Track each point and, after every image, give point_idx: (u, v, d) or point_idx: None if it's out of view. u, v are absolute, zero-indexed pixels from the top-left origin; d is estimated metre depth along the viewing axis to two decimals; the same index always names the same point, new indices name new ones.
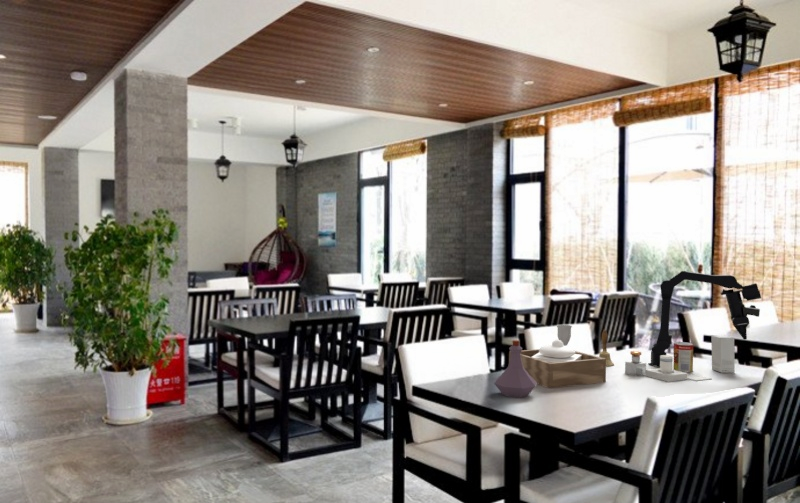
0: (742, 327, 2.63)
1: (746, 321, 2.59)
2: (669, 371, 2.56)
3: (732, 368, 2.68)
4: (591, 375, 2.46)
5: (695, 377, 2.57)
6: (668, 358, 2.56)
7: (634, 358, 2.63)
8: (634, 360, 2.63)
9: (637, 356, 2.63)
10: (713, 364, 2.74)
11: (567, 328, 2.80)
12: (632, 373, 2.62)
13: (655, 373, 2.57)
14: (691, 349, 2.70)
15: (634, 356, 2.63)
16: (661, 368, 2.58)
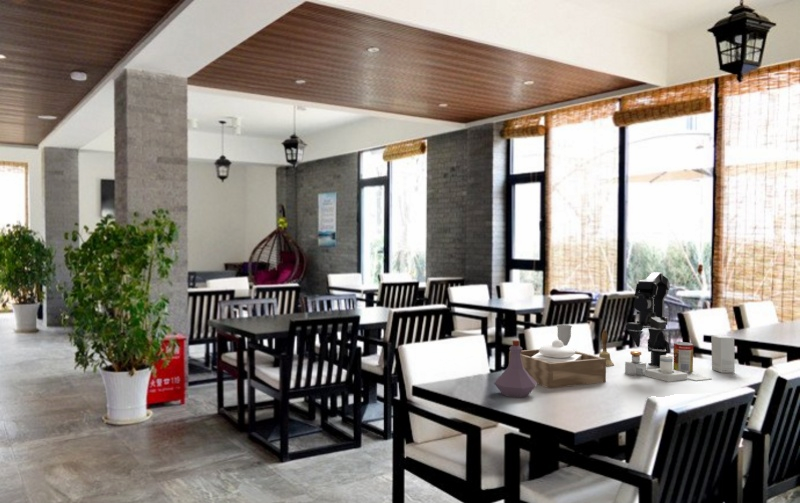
0: (636, 334, 2.58)
1: (634, 328, 2.55)
2: (669, 371, 2.56)
3: (732, 368, 2.68)
4: (591, 375, 2.46)
5: (695, 377, 2.57)
6: (668, 358, 2.56)
7: (634, 358, 2.63)
8: (634, 360, 2.63)
9: (637, 356, 2.63)
10: (713, 364, 2.74)
11: (567, 328, 2.80)
12: (632, 373, 2.62)
13: (655, 373, 2.57)
14: (691, 349, 2.70)
15: (634, 356, 2.63)
16: (661, 368, 2.58)
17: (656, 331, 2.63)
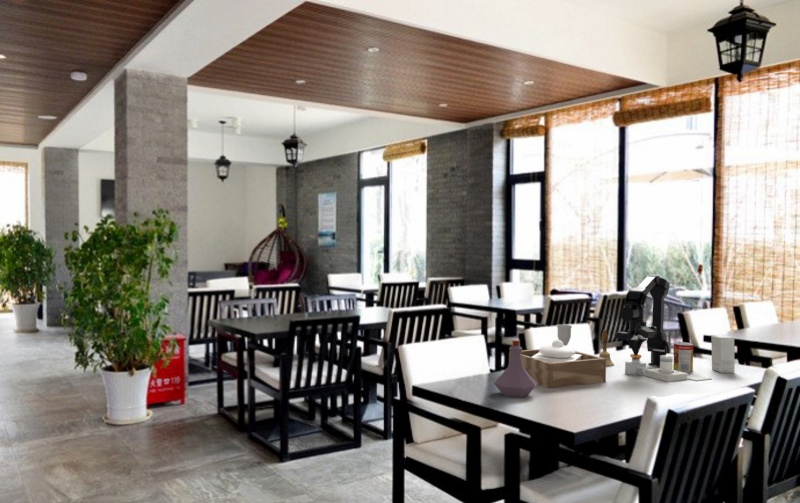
0: (633, 342, 2.64)
1: (623, 338, 2.59)
2: (669, 371, 2.56)
3: (732, 368, 2.68)
4: (591, 375, 2.46)
5: (695, 377, 2.57)
6: (668, 358, 2.56)
7: (634, 361, 2.63)
8: None
9: (637, 359, 2.63)
10: (713, 364, 2.74)
11: (567, 328, 2.80)
12: (632, 373, 2.62)
13: (655, 373, 2.57)
14: (691, 349, 2.70)
15: (634, 359, 2.63)
16: (661, 368, 2.58)
17: None
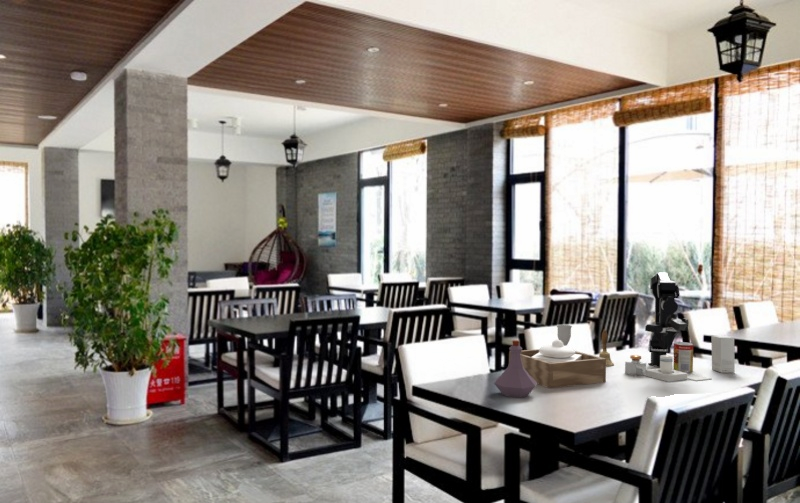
0: (661, 335, 2.57)
1: (653, 330, 2.52)
2: (669, 371, 2.56)
3: (732, 368, 2.68)
4: (591, 375, 2.46)
5: (695, 377, 2.57)
6: (668, 358, 2.56)
7: (634, 362, 2.63)
8: None
9: (637, 360, 2.63)
10: (713, 364, 2.74)
11: (567, 328, 2.80)
12: (632, 373, 2.62)
13: (655, 373, 2.57)
14: (691, 349, 2.70)
15: (634, 360, 2.63)
16: (661, 368, 2.58)
17: (673, 333, 2.58)
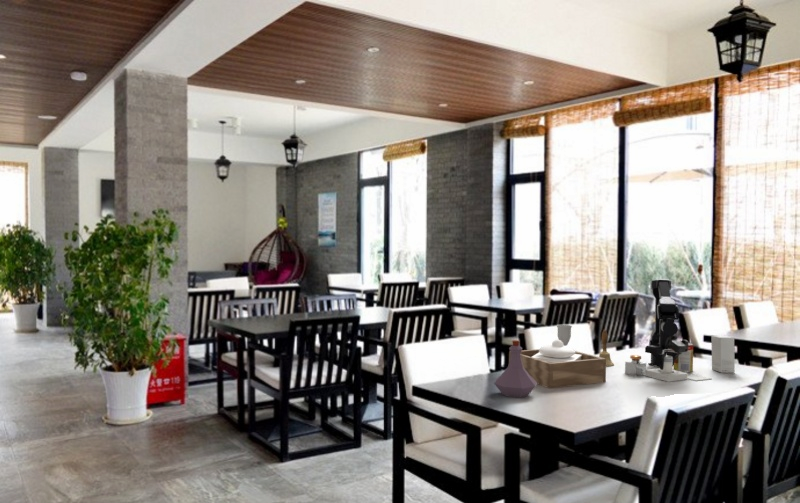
0: (659, 357, 2.57)
1: (653, 352, 2.53)
2: (669, 371, 2.56)
3: (732, 368, 2.68)
4: (591, 375, 2.46)
5: (695, 377, 2.57)
6: (668, 358, 2.56)
7: (634, 362, 2.63)
8: None
9: (637, 360, 2.63)
10: (713, 364, 2.74)
11: (567, 328, 2.80)
12: (632, 373, 2.62)
13: (655, 373, 2.57)
14: (691, 349, 2.70)
15: (634, 360, 2.63)
16: None
17: (674, 354, 2.58)
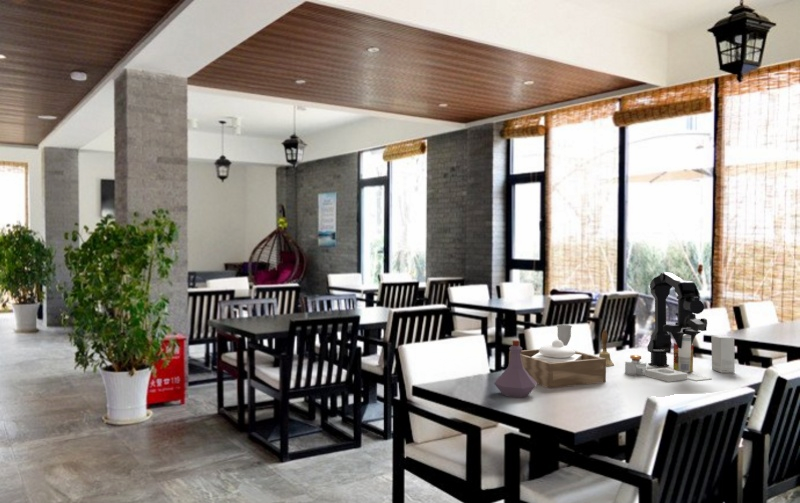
0: (678, 335, 2.56)
1: (672, 330, 2.52)
2: (688, 350, 2.55)
3: (732, 368, 2.68)
4: (591, 375, 2.46)
5: (695, 377, 2.57)
6: (687, 337, 2.55)
7: (634, 362, 2.63)
8: None
9: (637, 360, 2.63)
10: (713, 364, 2.74)
11: (567, 328, 2.80)
12: (632, 373, 2.62)
13: (655, 373, 2.57)
14: (691, 349, 2.70)
15: (634, 360, 2.63)
16: None
17: (692, 333, 2.57)
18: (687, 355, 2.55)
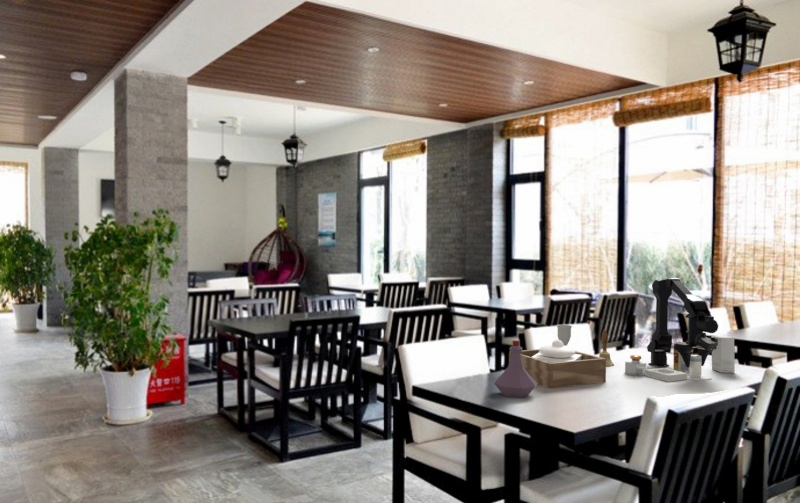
0: (686, 354, 2.55)
1: (683, 349, 2.52)
2: (698, 371, 2.55)
3: (732, 368, 2.68)
4: (591, 375, 2.46)
5: None
6: (697, 358, 2.55)
7: (634, 362, 2.63)
8: None
9: (637, 360, 2.63)
10: (713, 364, 2.74)
11: (567, 328, 2.80)
12: (632, 373, 2.62)
13: (655, 373, 2.57)
14: None
15: (634, 360, 2.63)
16: (690, 368, 2.57)
17: (705, 351, 2.58)
18: (698, 376, 2.55)
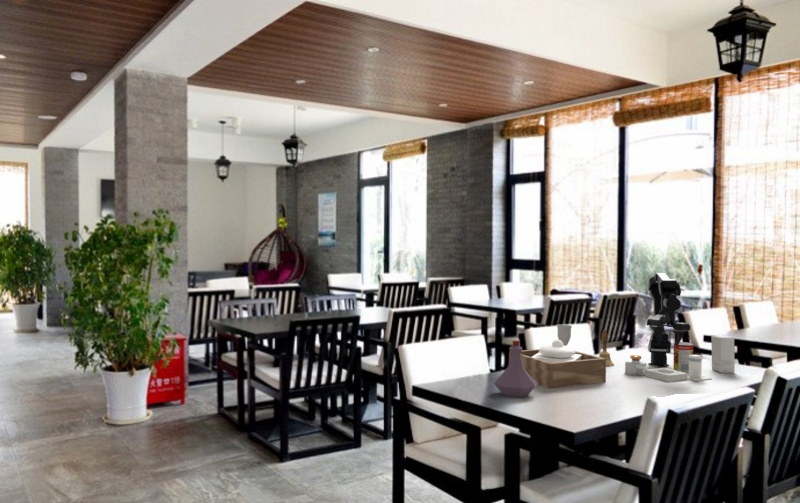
0: None
1: None
2: (698, 371, 2.55)
3: (732, 368, 2.68)
4: (591, 375, 2.46)
5: None
6: (697, 358, 2.55)
7: (634, 362, 2.63)
8: None
9: (637, 360, 2.63)
10: (713, 364, 2.74)
11: (567, 328, 2.80)
12: (632, 373, 2.62)
13: (655, 373, 2.57)
14: (691, 349, 2.70)
15: (634, 360, 2.63)
16: (690, 368, 2.57)
17: None
18: (698, 376, 2.55)
